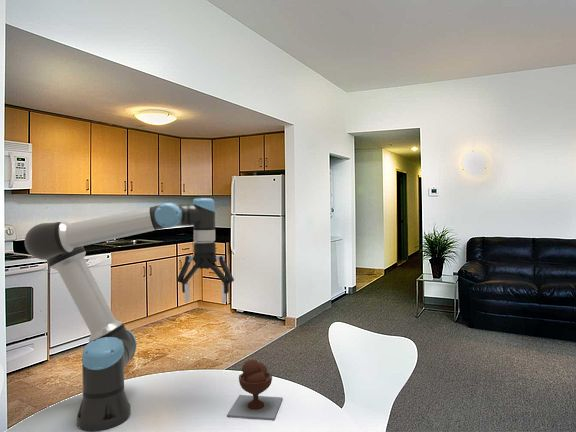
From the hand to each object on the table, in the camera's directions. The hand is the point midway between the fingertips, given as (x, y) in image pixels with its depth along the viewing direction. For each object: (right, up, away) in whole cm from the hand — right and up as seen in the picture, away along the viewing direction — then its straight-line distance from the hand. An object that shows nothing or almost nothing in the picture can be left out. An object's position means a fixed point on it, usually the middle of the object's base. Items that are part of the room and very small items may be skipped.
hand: (205, 302), depth 142 cm
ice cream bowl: (+19, -31, -12) cm, 38 cm away
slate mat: (+19, -32, -12) cm, 39 cm away
